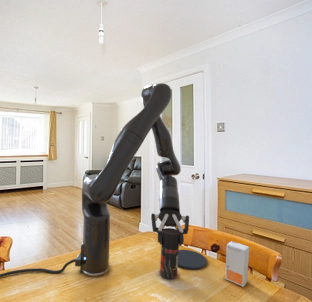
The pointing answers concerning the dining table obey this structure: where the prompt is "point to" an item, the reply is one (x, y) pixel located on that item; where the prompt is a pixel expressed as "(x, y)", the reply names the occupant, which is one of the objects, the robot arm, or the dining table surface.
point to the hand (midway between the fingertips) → (170, 244)
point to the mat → (191, 260)
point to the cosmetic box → (237, 263)
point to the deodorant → (169, 253)
